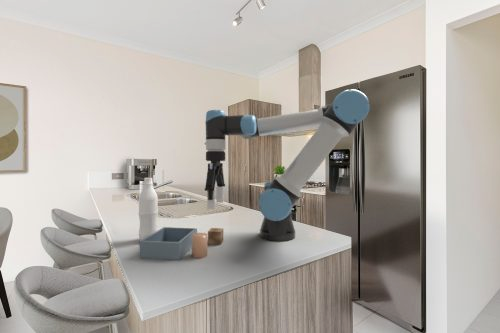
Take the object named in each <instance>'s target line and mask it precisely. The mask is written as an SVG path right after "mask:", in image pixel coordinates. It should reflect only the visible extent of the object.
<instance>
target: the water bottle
mask: <svg viewBox="0 0 500 333" xmlns="http://www.w3.org/2000/svg"><path fill="white" fill-rule="evenodd" d="M143 179H144V180H143V188H142V190H141V191H140V194H139V195H138V217H139V218H138V219H139V230H138V238H139V241H141V240H143V239H144V238H146V237H148V236H149V235H151V234H153V233H155V232H156V231H158V230H159V229H158V215H159V210H158V208H159V206H158V205H159V204H158V202H159V198H158V197H159V196H158V194H157V192H156V190H155V188H154V185H153V184H154V180H153V177H144V178H143Z"/></svg>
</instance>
